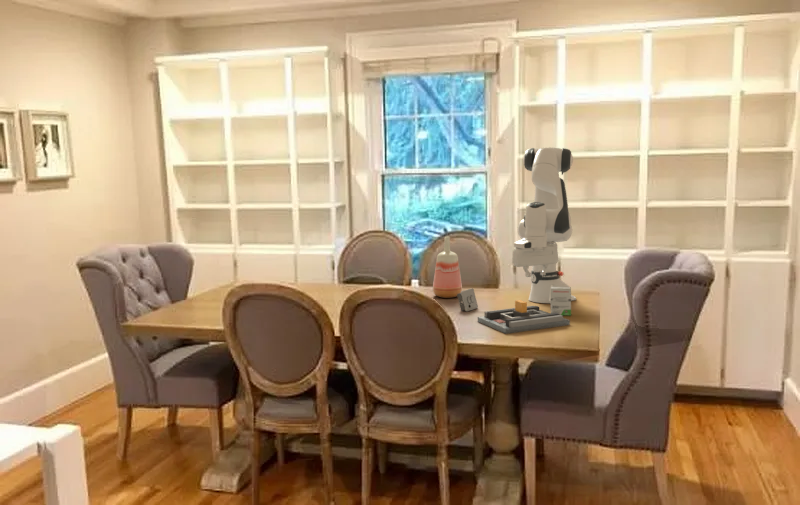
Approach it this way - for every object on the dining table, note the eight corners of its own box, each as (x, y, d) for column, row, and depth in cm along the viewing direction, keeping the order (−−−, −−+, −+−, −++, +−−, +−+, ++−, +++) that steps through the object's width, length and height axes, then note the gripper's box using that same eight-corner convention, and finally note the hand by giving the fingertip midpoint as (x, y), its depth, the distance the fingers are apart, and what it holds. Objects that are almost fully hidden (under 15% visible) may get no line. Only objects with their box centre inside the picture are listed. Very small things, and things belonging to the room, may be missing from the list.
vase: (467, 295, 332) (466, 236, 327) (453, 300, 320) (452, 239, 315) (441, 292, 339) (441, 234, 335) (427, 297, 327) (426, 237, 323)
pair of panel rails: (533, 310, 287) (533, 304, 286) (563, 320, 267) (563, 314, 267) (484, 316, 278) (484, 310, 277) (511, 327, 258) (511, 321, 258)
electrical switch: (467, 312, 295) (465, 291, 294) (457, 311, 298) (455, 291, 297) (478, 308, 302) (476, 288, 301) (468, 308, 305) (467, 288, 305)
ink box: (571, 313, 288) (571, 286, 287) (571, 315, 284) (571, 288, 282) (550, 312, 290) (550, 286, 289) (550, 315, 286) (550, 288, 284)
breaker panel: (538, 313, 289) (538, 304, 288) (569, 324, 268) (569, 315, 268) (477, 321, 277) (477, 312, 277) (505, 333, 257) (505, 323, 257)
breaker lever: (521, 316, 276) (521, 299, 275) (529, 319, 270) (529, 302, 269) (512, 317, 274) (512, 300, 273) (520, 320, 269) (520, 303, 268)
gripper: (552, 240, 277) (552, 272, 279) (510, 243, 270) (510, 276, 272) (561, 241, 272) (561, 274, 273) (518, 245, 264) (518, 279, 266)
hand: (535, 275), depth 272 cm, fingers open, 6 cm apart
